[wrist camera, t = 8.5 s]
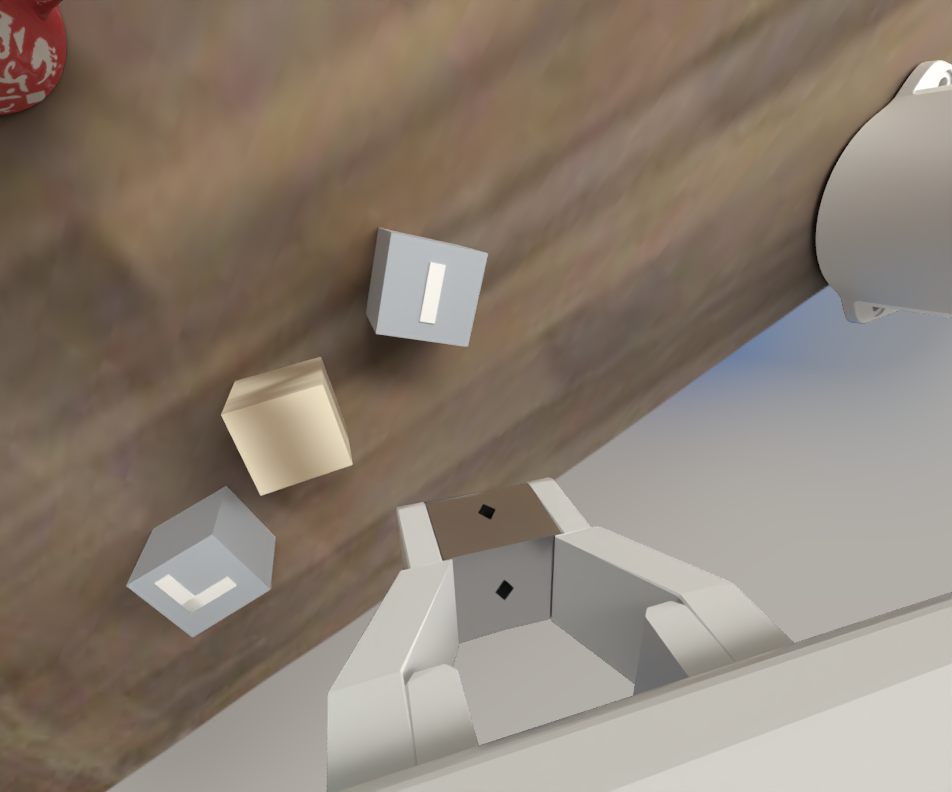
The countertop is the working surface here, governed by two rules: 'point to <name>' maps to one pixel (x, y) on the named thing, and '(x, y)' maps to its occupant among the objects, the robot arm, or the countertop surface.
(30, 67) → the mug
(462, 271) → the grey block
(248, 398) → the maple block
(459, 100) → the countertop surface
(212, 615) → the grey block
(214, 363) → the countertop surface
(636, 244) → the countertop surface
